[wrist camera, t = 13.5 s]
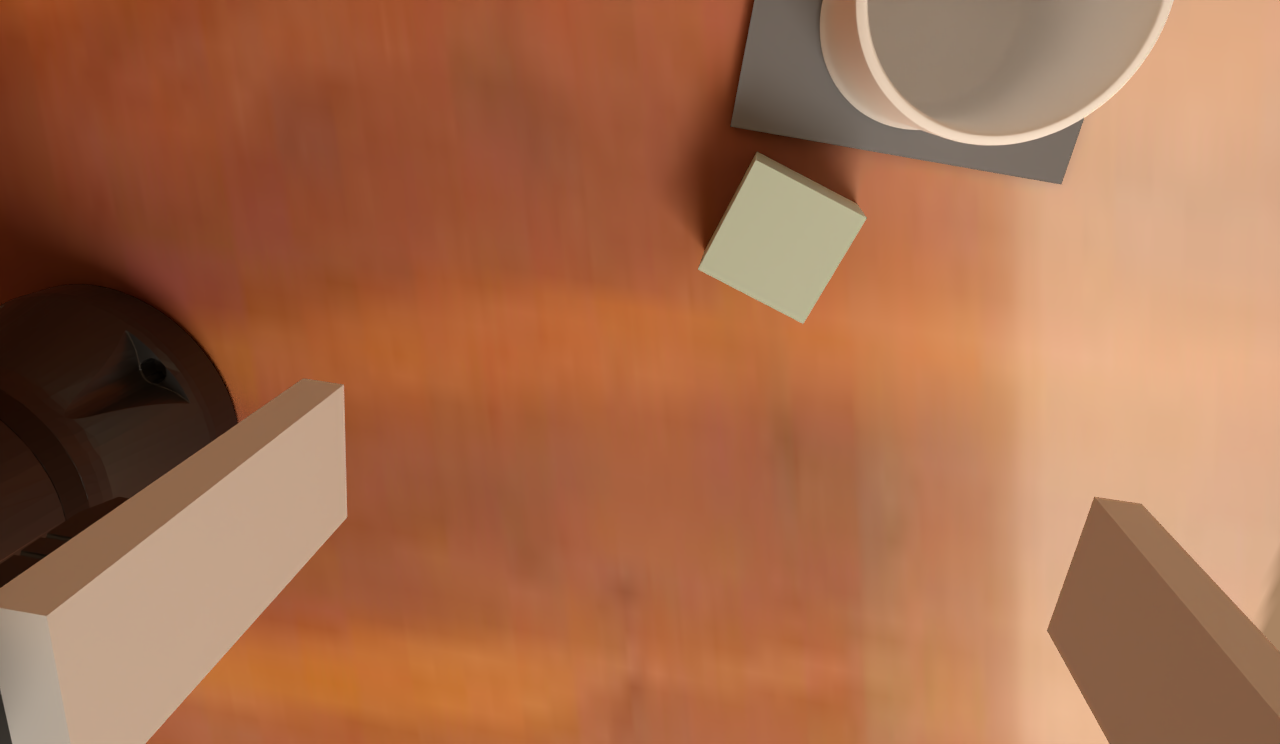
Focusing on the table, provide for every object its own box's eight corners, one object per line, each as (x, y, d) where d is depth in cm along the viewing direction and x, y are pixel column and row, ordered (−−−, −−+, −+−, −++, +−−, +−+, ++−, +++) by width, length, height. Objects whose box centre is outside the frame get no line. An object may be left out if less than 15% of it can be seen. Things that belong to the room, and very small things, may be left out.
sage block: (704, 250, 37) (698, 269, 34) (756, 151, 36) (755, 159, 32) (799, 299, 38) (803, 323, 34) (856, 203, 36) (866, 217, 32)
